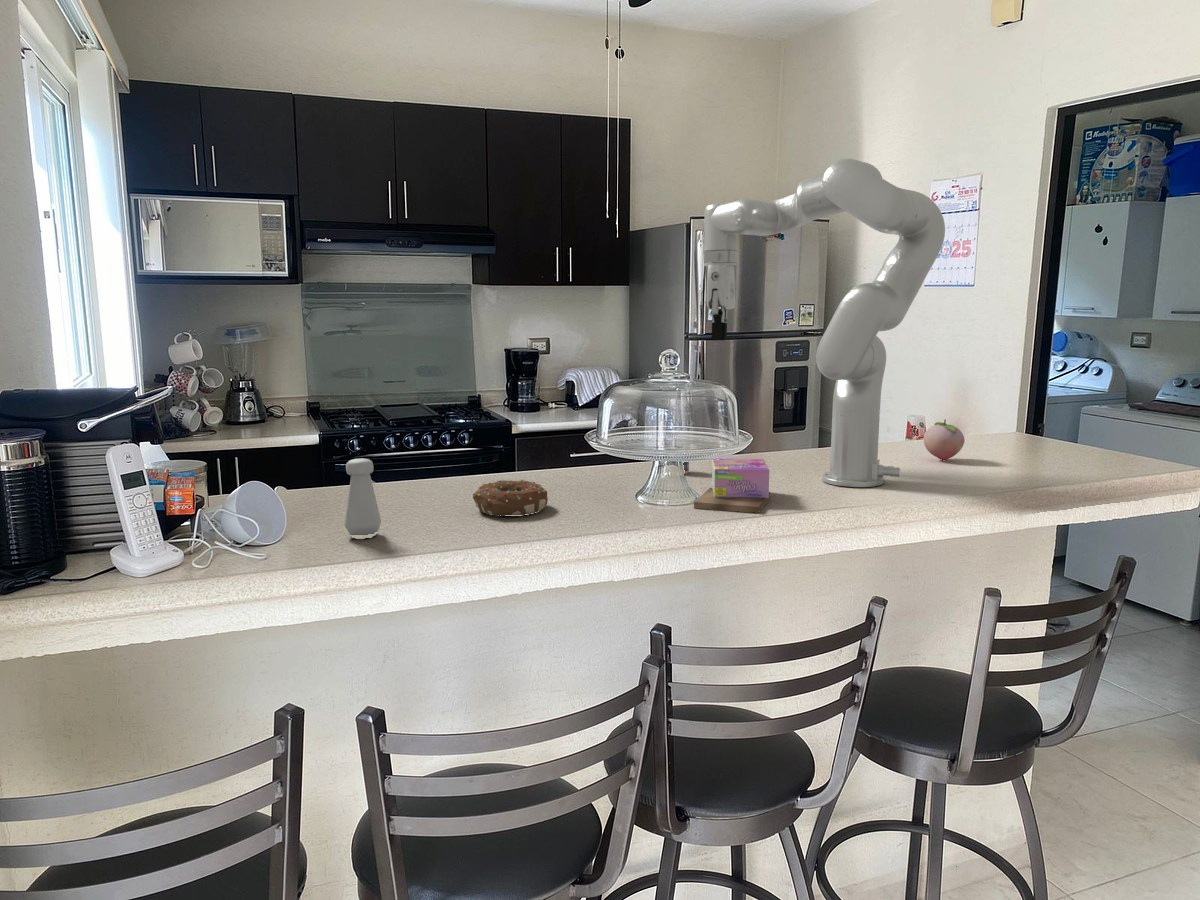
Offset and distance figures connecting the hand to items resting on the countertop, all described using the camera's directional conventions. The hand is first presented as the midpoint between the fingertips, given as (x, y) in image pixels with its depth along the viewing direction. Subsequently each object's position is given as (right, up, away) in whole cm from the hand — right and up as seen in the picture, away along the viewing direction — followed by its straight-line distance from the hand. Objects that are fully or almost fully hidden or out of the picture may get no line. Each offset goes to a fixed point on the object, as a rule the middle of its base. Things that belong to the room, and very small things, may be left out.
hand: (719, 340), depth 198 cm
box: (0, -30, -25) cm, 39 cm away
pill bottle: (-10, -31, -6) cm, 33 cm away
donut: (-44, -37, -39) cm, 70 cm away
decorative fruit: (+54, -28, +5) cm, 61 cm away
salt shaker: (-67, -40, -56) cm, 96 cm away
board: (-2, -36, -35) cm, 50 cm away
